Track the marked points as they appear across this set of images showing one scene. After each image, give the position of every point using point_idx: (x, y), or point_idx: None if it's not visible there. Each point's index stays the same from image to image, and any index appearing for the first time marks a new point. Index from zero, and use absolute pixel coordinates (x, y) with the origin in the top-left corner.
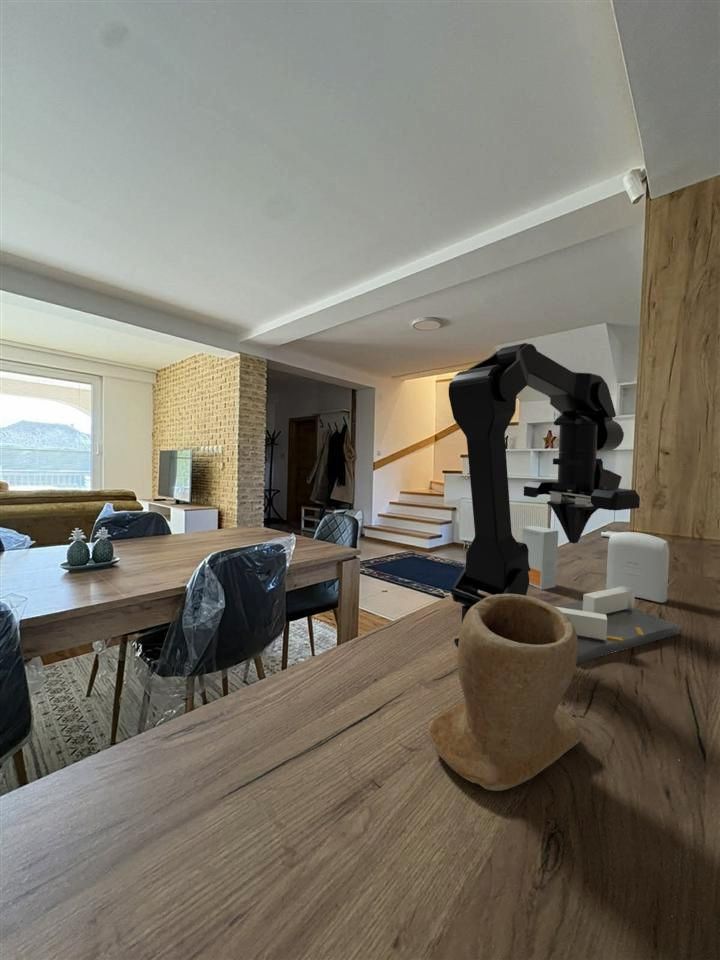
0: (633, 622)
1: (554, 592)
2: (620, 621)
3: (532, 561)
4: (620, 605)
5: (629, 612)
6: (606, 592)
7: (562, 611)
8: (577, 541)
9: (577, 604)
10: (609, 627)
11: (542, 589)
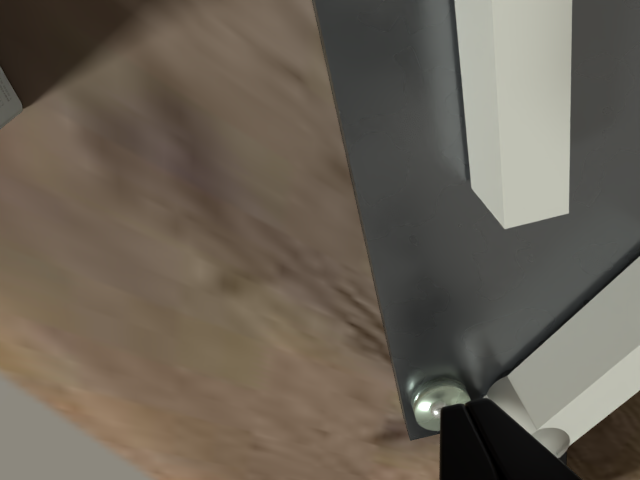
0: (631, 18)
1: (64, 53)
2: (595, 73)
3: None
4: None
5: None
6: (530, 83)
7: (612, 403)
8: (499, 414)
9: (371, 137)
10: (613, 168)
11: (19, 101)
